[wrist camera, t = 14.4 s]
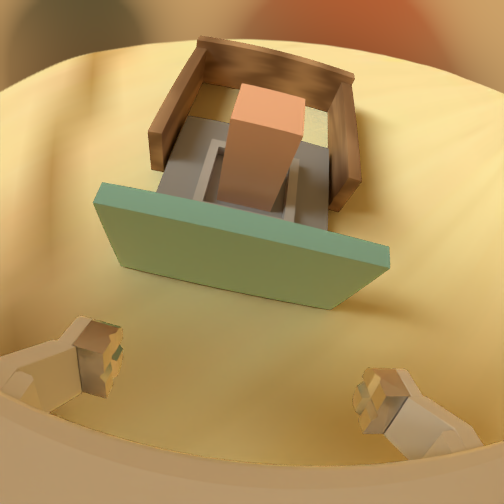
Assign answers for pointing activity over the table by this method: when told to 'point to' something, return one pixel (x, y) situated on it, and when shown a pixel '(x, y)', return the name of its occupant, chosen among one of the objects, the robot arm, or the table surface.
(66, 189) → the table surface
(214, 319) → the table surface
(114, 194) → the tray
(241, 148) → the terracotta block
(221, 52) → the dock
